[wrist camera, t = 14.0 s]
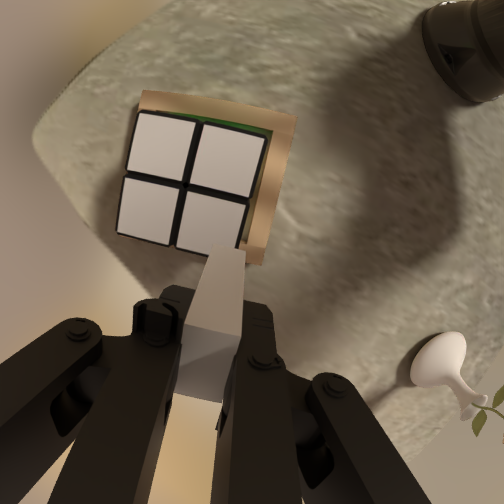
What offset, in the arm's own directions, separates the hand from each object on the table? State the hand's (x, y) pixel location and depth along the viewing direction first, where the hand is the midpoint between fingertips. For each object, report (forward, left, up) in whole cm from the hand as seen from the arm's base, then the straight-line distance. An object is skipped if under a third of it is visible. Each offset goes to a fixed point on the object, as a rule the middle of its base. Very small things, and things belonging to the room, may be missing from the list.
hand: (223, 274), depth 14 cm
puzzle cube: (-2, -4, -19) cm, 19 cm away
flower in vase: (+16, +37, -20) cm, 45 cm away
